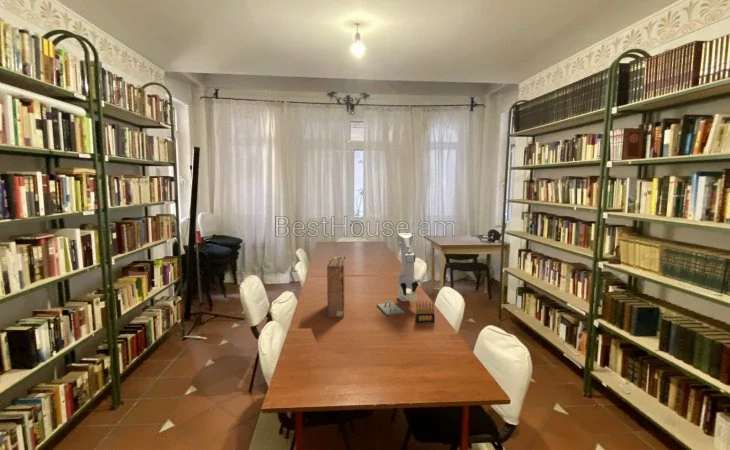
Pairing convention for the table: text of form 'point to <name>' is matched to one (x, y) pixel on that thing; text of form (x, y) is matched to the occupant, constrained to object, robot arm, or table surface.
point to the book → (335, 288)
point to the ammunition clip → (424, 313)
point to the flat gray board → (390, 308)
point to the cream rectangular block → (409, 295)
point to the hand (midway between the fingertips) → (408, 294)
